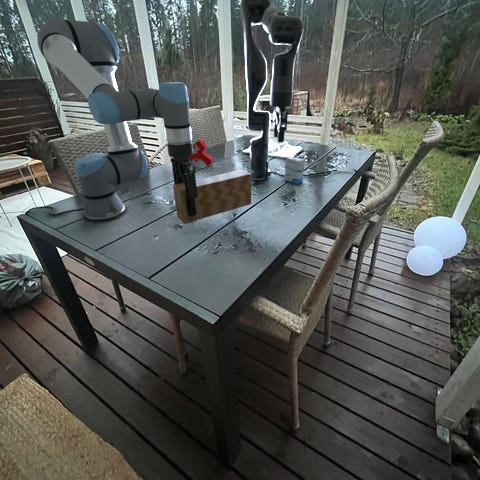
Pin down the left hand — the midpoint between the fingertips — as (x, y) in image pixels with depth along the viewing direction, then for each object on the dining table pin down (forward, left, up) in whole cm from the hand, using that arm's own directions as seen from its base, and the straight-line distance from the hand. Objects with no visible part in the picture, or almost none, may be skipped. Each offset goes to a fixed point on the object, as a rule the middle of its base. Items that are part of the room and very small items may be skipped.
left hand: (188, 211), depth 93 cm
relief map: (+49, +110, -10) cm, 121 cm away
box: (+9, +5, -3) cm, 11 cm away
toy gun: (-3, +84, -10) cm, 85 cm away
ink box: (+50, +51, -10) cm, 71 cm away
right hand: (+34, +20, +19) cm, 44 cm away
